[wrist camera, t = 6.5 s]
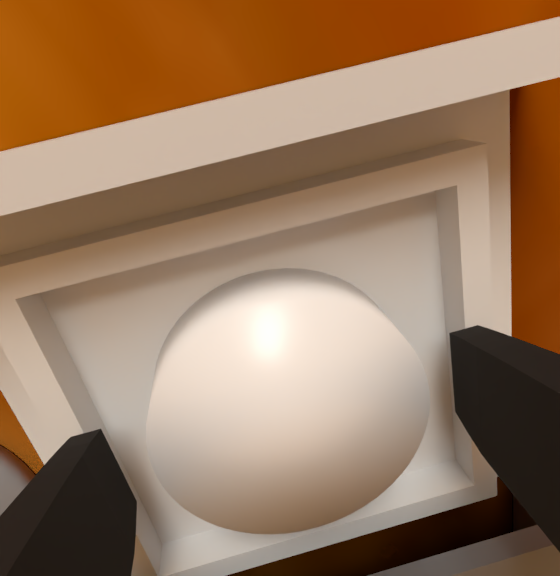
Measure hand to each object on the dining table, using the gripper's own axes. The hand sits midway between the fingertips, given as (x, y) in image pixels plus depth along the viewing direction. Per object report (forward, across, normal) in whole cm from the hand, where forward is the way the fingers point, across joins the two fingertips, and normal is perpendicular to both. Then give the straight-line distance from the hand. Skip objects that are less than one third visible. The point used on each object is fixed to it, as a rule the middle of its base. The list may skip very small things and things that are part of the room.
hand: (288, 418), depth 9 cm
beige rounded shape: (+1, 0, 0) cm, 1 cm away
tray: (+2, 0, 0) cm, 2 cm away
